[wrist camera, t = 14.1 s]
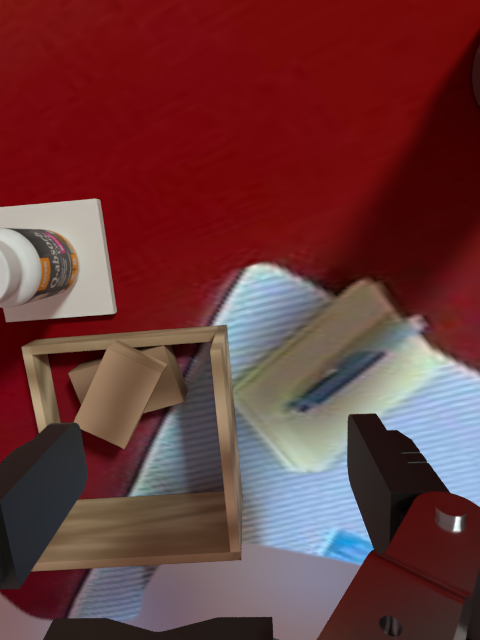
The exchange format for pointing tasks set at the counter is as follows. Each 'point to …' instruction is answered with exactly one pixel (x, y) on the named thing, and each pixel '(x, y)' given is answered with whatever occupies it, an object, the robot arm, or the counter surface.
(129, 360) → the offcut block upper
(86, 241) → the tile
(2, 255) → the pill bottle
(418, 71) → the counter surface
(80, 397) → the offcut block lower
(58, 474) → the robot arm
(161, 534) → the wooden box frame
